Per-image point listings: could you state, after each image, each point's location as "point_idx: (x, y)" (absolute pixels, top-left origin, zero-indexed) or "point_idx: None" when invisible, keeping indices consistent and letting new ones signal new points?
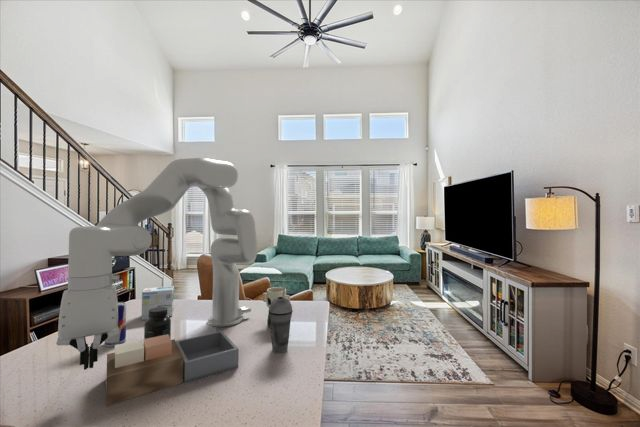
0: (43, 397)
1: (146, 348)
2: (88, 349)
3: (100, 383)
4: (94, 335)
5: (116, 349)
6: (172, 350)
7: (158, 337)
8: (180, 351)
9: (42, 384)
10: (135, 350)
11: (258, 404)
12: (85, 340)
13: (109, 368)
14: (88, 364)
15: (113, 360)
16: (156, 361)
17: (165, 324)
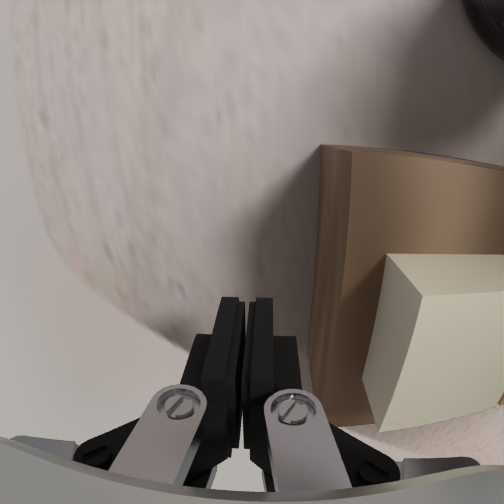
0: (106, 168)
1: (500, 402)
2: (235, 430)
3: (297, 172)
4: (275, 487)
5: (407, 378)
6: None
7: None
8: None
9: (88, 55)
10: (463, 415)
11: (501, 443)
12: (195, 451)
13: (341, 371)
14: (245, 338)
15: (375, 290)
16: None
17: None
